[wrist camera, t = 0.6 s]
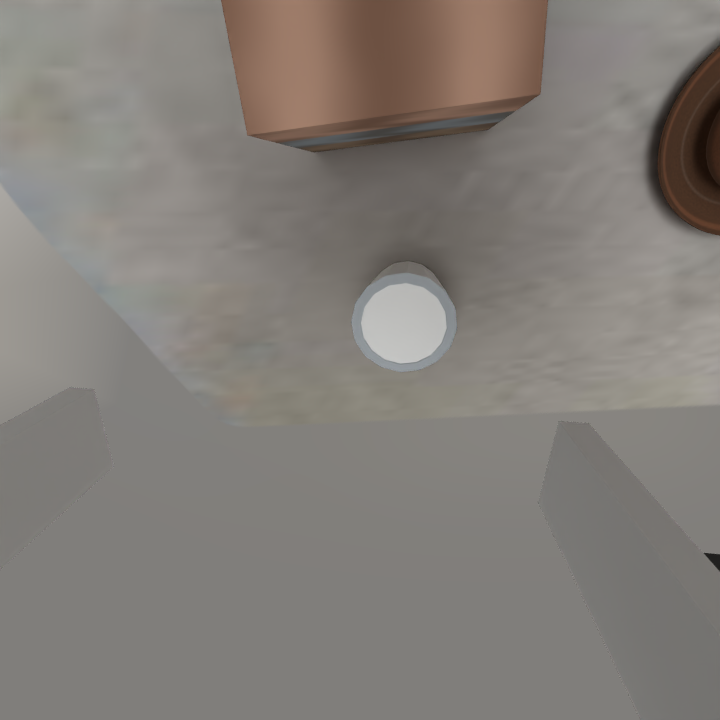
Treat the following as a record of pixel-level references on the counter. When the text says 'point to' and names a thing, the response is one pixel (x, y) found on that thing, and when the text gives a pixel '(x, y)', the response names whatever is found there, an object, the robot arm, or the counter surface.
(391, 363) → the grey round tub
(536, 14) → the brown grey striped block
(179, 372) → the counter surface
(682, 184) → the cup and saucer
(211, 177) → the counter surface
